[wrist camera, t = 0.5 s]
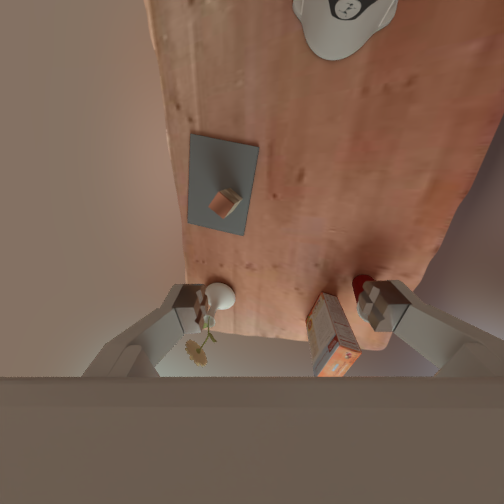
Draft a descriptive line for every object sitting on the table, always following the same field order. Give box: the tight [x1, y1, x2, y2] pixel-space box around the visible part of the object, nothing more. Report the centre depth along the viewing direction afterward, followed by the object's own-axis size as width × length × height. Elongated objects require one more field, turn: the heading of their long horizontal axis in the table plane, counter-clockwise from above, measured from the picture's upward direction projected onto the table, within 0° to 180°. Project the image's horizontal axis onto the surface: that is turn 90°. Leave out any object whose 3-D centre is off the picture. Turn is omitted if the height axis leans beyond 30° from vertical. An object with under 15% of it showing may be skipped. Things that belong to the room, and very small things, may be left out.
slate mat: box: [188, 134, 259, 236], centre depth 52 cm, size 24×18×1 cm
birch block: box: [208, 188, 243, 219], centre depth 47 cm, size 4×4×10 cm
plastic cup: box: [352, 275, 376, 323], centre depth 51 cm, size 11×11×12 cm
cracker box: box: [306, 292, 362, 377], centre depth 53 cm, size 14×6×21 cm, turn 164°
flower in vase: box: [185, 283, 235, 367], centre depth 56 cm, size 13×11×25 cm
